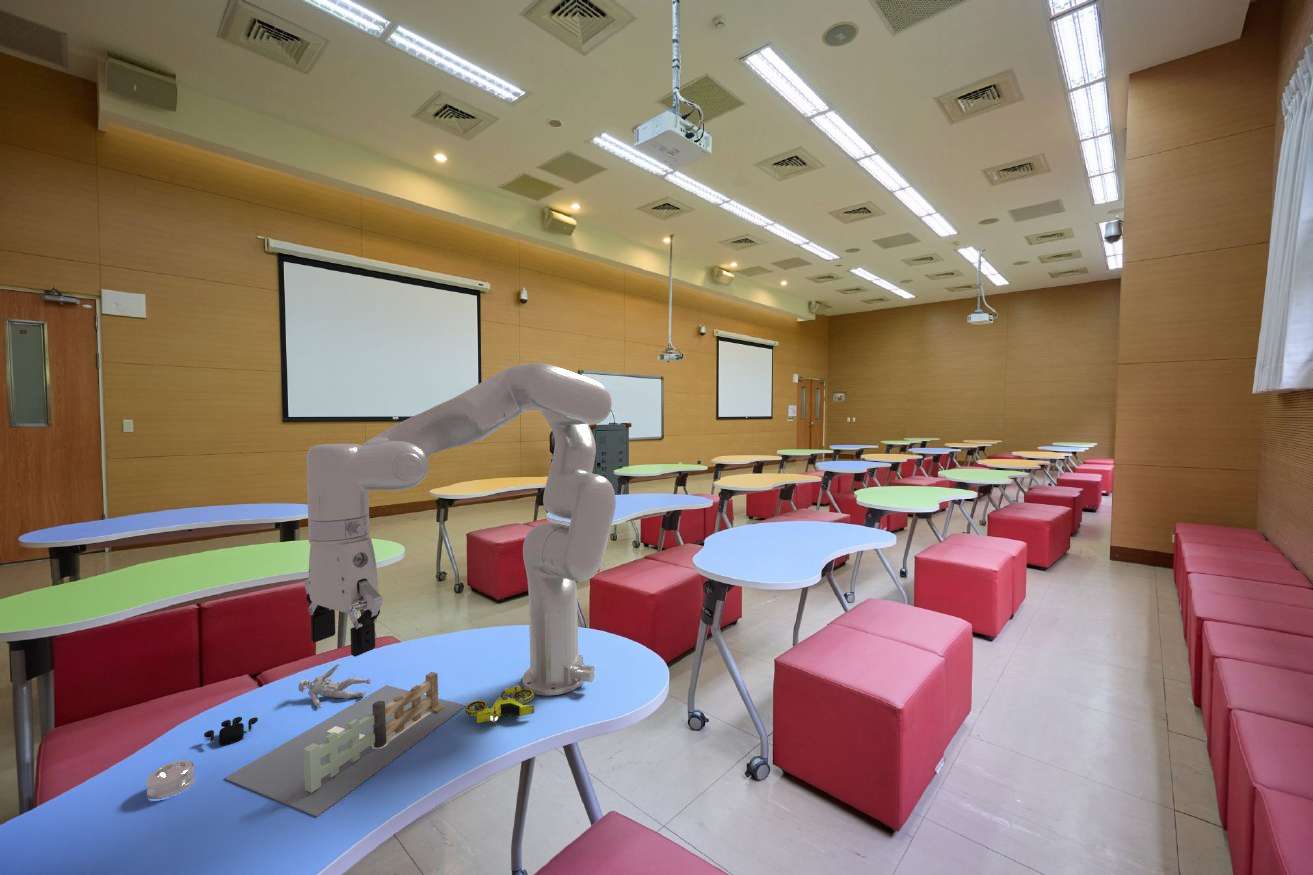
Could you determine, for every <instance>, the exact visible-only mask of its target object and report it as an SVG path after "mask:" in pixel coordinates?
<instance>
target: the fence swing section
mask: <svg viewBox="0 0 1313 875" xmlns="http://www.w3.org/2000/svg"><path fill="white" fill-rule="evenodd" d="M372 725H374V715H371V714H369V715H367V716H366V717H364V718H363V719H361V720H357V719H354V720H353V721H351V722H349V723H348V728H346V729H345V730H343V731H341V732H340V733H338V734H337V733H335V732H333V733H331V734H329V735H328V736H326V741H325V742H323V743H322V744H320V745H317V744H314V743H312V744H311V745H309V746H307V747H306V748H304V749H303V756H304V779H305V790H306V791H309V792H311V793H312V792H313V791H315V790H316V789H318V788H319V787H321V779H322V778H323V777H325V776H326V775H327V776H328V777H333V776H334V775H336V774H337V773H339V766H341V765H342V764H344V763H345V762H347V761H348V760H349V761H350V762H355V761H356V760H358V759H359V758H360V752H362V751H363V750H365V749H366V748H367V747H369V746H370V745H372V744H373V743H375V734H374V733H369V734H367V735H366V736H364V737H362V738H361V739H359V734H360V733H361V732H363V731H364V730H366V729H367V728H369V727H371V726H372ZM347 741H349V747H347V748H346V749H344V750H342V751H341V752H339V753H338V747H339V746H341V745H342V744H344V743H346V742H347ZM325 755H327V761H326V762H324V763H322V764H321V765H320V758H322V757H324V756H325Z"/></svg>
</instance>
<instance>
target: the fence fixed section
mask: <svg viewBox="0 0 1313 875" xmlns="http://www.w3.org/2000/svg"><path fill="white" fill-rule="evenodd" d="M438 677H439V675H438V672H434V671H431V672H428V673H426V674H425V681H424V682H422V683H420V684H418V685H417V684H416V685H415V686H412V687H411V688H410V690H408V691H409V692H407V693H405V694H404V695H402V696H398V697H397V698H395V699H394V701H392V702H391V703H389V704H387V705H386V706H385V701H377V702H375V703H374V704H373V705H372V709H373V715H374V725H373V733H374V734H375V743H374V747H375V748H379V747H382V746H384V745H385V744H386V736H387V735H388V734H390V733H391V732H393V731H394V730H395V732H396V733H400V732H401V731H403V730H404V724H405V723H406V722H408V721H409V720H411V719H412V721H417V720H419V719H420V718H421V712H422V711H424V710H429V711H433V712H435V713H439V712H440V711H442V710H443V709H444V706H441V705H438V698H439V683H438V681H439V678H438ZM421 695H426V698H424V699H423V700H421V697H420V696H421ZM410 702H412V707H410V708H409V709H407V710H406V711H404V706H405V705H407V704H408V703H410ZM393 713H394V719H392V720H390V721H389V722H387V723H386V718H387V717H388V716H390V715H391V714H393Z"/></svg>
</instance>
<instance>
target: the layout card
mask: <svg viewBox="0 0 1313 875" xmlns="http://www.w3.org/2000/svg"><path fill="white" fill-rule="evenodd" d="M409 691H410V690H407V689H402V688H401V687H396V686H391V685H388V684H386V685H384V686H382V687H381V688H378V689H377V690H375V691H374V692H372V693H370V694H368V695H367V696H366V695H365V696H364V697H362V699H360V700H358V701H356V702H354V703H353V704H351V705H349V706H347V707H346V708H344V709H342V710H340V711H338V712H337V713H335V714H333V715H332V716H330V717H328V718H326V719H325V720H323V721H321V722H319V723H318V724H316V725H314V726H313V727H311V728H309V729H307V730H306V731H303V732H302V733H300V734H298V735H297V736H295V737H293V738H291V739H289V740H288V741H286V742H285V743H283V744H281V745H279V746H278V747H275V748H274V749H273V750H270V751H268V752H267V753H265V754H263V755H262V756H260V757H259V758H257V759H255V760H253V761H251V762H250V763H247V764H246V765H244V766H243V767H241V768H239V769H238V770H235V771H234V772H232V773H230V774H229V775H227V776H225V777H224V778H223V779H224V780H226V781H228V782H231V783H233V784H235V785H238V786H240V787H243V788H245V789H248V790H249V791H253V792H254V793H257V794H260V795H262V796H264V797H266V798H269V799H272V800H274V801H276V802H278V803H282V804H284V805H286V806H289V807H292V808H293V809H295V810H298V811H301V812H304V813H306V814H308V815H311V816H312V817H315V818H318V817H319V816H320V815H322V814H323V813H324V812H325V811H327V810H328V809H329V808H331V807H332V806H334V805H335V804H336V803H338V802H339V801H341V800H342V799H344V797H346V796H347V795H349V794H350V793H351V792H352V791H355V789H357V788H358V787H359V786H361V785H362V784H364V783H365V782H366V781H369V779H370V778H372V777H373V776H375V775H376V774H377V773H379V772H380V771H381V770H383V769H384V768H385V767H386V766H388V765H389V764H391V763H392V762H393V761H395V760H396V759H397V758H399V757H400V756H402V754H404V753H405V752H406V751H408V750H409V749H411V748H412V747H413V746H415V745H416V744H418V743H420V741H422V740H423V739H425V737H427V736H428V735H429V734H431V733H432V732H434V731H435V730H436V729H438V728H439V727H440V726H442V725H443V724H445V723H446V722H447V721H449V720H450V719H451V718H453V717H454V716H456V715H457V714H458V713H459V712H461V711H462V710H463V709H465V707H466V706H467V705H465V704H463V703H457V702H453V701H451V700H446V699H442V698H439V697H438V705H441V706H444V709H443V710H442V711H440V712H439V713H435V712H433V711H429V710H424V711H422V712H421V718H420V719H419V720H417V721H412V719H411V720H409V721H408V722H406V723H405V724H404V730H403V731H401V732H400V733H396V732H395V730H394V731H393V732H391V733H390V734H388V735H387V736H386V744H385V745H384V746H382V747H379V748H375V747H374V743H373V744H372V745H370V746H369V747H367V748H366V749H365V750H363V751H362V752H360V758H359V759H358V760H356V761H355V762H350V761H349V760H348V761H347V762H345V763H344V764H342V765H341V766H339V773H337V774H336V775H334V776H333V777H328V776H327V775H326V776H325V777H323V778H322V779H321V787H319V788H318V789H316V790H315V791H313V792H312V793H311V792H309V791H306V790H305V779H304V756H303V749H304V748H306V747H307V746H309V745H311V744H312V743H314V744H317V745H320V744H322V743H323V742H325V741H326V736H328V735H329V734H331V733H333V732H335V733H337V734H338V733H340V732H341V731H343V730H345V729H346V728H348V723H349V722H351V721H353V720H354V719H357V720H361V719H363V718H364V717H366V716H367V715H369V714H371V715H373V709H372V705H373V704H374V703H375V702H377V701H385V706H386V705H387V704H389V703H391V702H392V701H394V699H395V698H397V697H398V696H402V695H404V694H405V693H407V692H409ZM420 697H421V700H423V699H424V698H426V694H423V695H421V696H420ZM410 707H412V702H410V703H408V704H407V705H405V706H404V711H406V710H407V709H409V708H410ZM392 719H394V713H393V714H391V715H390V716H388V717H387V718H386V723H387V722H389V721H390V720H392ZM369 733H373V725H372V726H371V727H369V728H367V729H366V730H364V731H363V732H361V733H360V734H359V739H361V738H362V737H364V736H366V735H367V734H369ZM347 747H349V741H347V742H346V743H344V744H342V745H341V746H339V747H338V753H339V752H341V751H342V750H344V749H346V748H347ZM326 761H327V755H325V756H324V757H322V758H320V765H321V764H322V763H324V762H326Z"/></svg>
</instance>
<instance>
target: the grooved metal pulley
mask: <svg viewBox="0 0 1313 875" xmlns="http://www.w3.org/2000/svg"><path fill="white" fill-rule="evenodd" d="M194 770H195V765H194V762H192V761H191V760H187V759H182V760H181V759H180V760H177V761H173V762H169V763H166V764H164V765H162V766H160V767H159V768H157V769H155V770H154V771H153V772H151V774H150V775H149V776H148V777H147V779H146V787H147V788H148V789H147V791H146V798H147V797H148V798H149V799H162V798H165V797H171V796H173V795H175V794H178V793H179V792H182V791H184V790H186V789H187V788H189V787H190V786H191V785H192V784H193V783H194V784H195V782H196V781H195V773H194ZM194 781H195V782H194ZM194 784H193V785H194ZM193 785H192V786H193ZM192 786H191V787H192ZM191 787H190V788H191ZM190 788H189V789H190ZM186 791H187V790H186Z"/></svg>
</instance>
